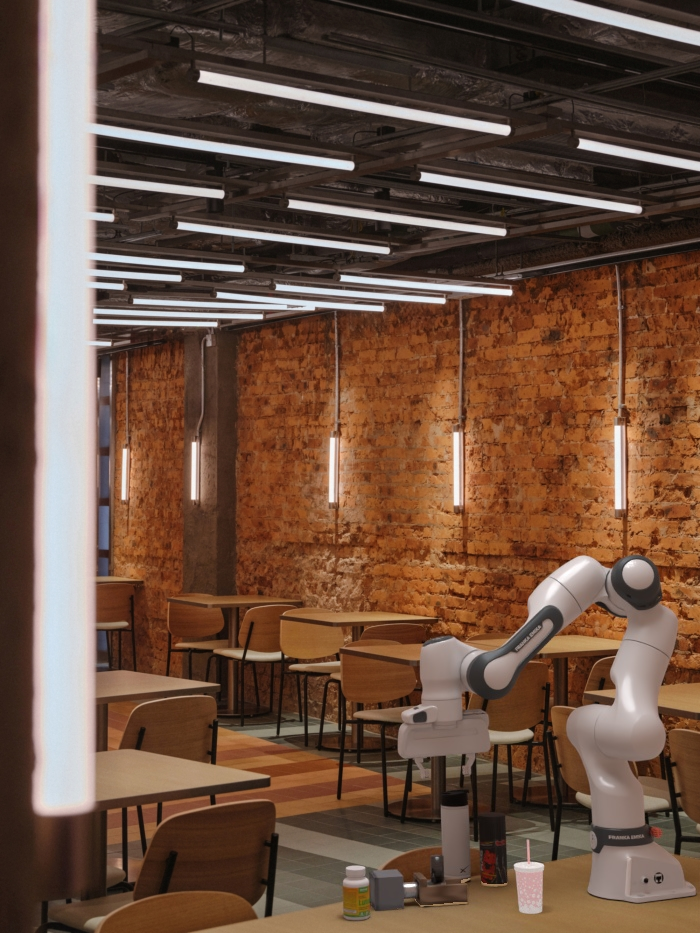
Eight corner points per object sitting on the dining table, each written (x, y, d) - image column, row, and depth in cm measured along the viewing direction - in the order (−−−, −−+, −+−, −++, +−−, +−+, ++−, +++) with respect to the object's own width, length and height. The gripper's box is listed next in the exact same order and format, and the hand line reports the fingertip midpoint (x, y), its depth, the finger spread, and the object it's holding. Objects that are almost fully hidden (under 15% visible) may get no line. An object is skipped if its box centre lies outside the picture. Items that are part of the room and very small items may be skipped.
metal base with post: (443, 894, 255) (441, 854, 256) (446, 897, 252) (445, 857, 252) (377, 898, 252) (376, 858, 253) (380, 902, 249) (379, 861, 250)
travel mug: (471, 884, 267) (468, 791, 269) (441, 883, 268) (438, 791, 270) (473, 877, 273) (470, 787, 275) (444, 877, 275) (442, 787, 277)
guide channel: (460, 896, 257) (459, 869, 257) (467, 904, 251) (466, 876, 251) (414, 899, 255) (413, 872, 256) (420, 907, 249) (419, 879, 250)
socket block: (397, 900, 255) (397, 869, 255) (404, 908, 248) (403, 876, 249) (369, 902, 254) (369, 871, 254) (375, 910, 247) (374, 878, 248)
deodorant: (513, 884, 266) (510, 814, 268) (492, 888, 263) (490, 818, 264) (495, 879, 271) (493, 811, 273) (475, 883, 268) (472, 814, 269)
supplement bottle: (361, 922, 239) (360, 871, 240) (338, 918, 242) (337, 869, 243) (375, 915, 244) (373, 866, 245) (352, 912, 247) (351, 863, 248)
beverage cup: (550, 913, 242) (547, 841, 244) (520, 915, 241) (518, 843, 243) (540, 905, 248) (537, 835, 250) (511, 907, 247) (509, 837, 249)
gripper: (483, 706, 269) (487, 770, 268) (394, 713, 265) (397, 777, 264) (492, 709, 263) (496, 774, 261) (400, 716, 259) (404, 782, 258)
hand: (446, 776), depth 262 cm, fingers open, 8 cm apart
